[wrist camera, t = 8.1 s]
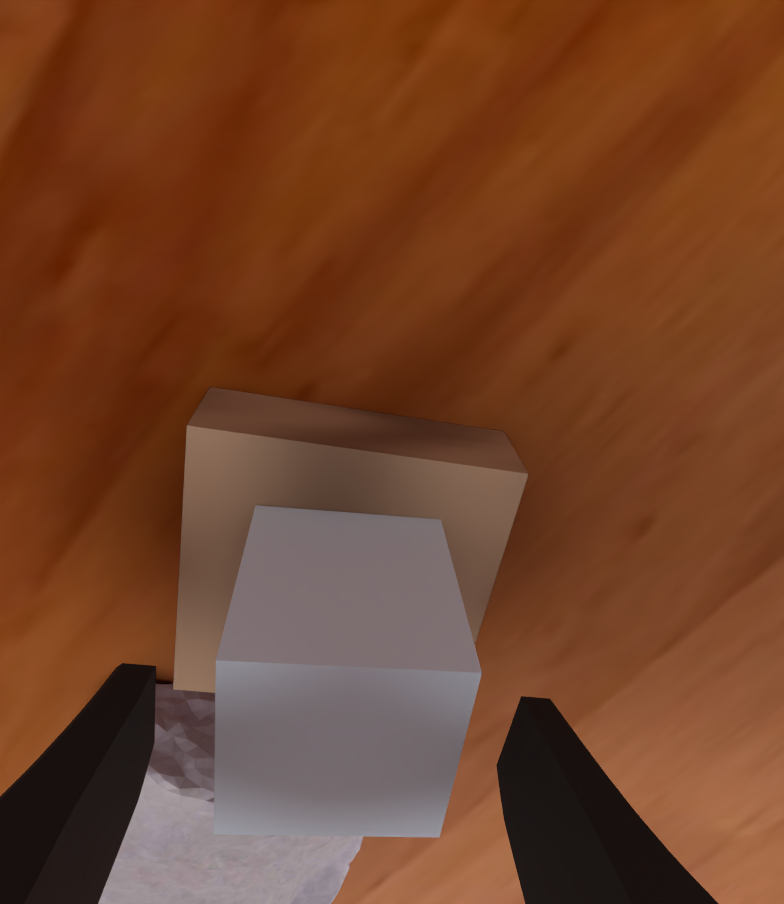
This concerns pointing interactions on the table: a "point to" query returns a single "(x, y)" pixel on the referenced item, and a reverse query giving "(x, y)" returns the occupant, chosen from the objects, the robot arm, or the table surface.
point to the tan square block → (329, 496)
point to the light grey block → (341, 678)
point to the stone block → (210, 830)
